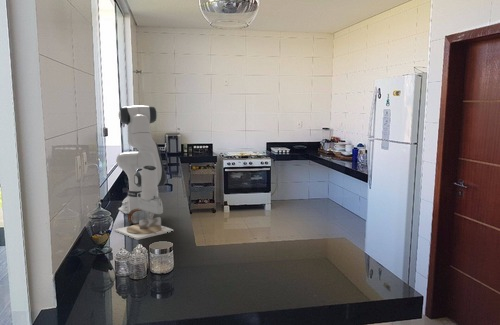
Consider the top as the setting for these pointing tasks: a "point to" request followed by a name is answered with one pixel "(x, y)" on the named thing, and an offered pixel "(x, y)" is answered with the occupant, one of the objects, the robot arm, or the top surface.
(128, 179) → the robot arm
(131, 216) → the bread slice
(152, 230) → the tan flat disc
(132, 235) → the white flat square board
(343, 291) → the top surface
